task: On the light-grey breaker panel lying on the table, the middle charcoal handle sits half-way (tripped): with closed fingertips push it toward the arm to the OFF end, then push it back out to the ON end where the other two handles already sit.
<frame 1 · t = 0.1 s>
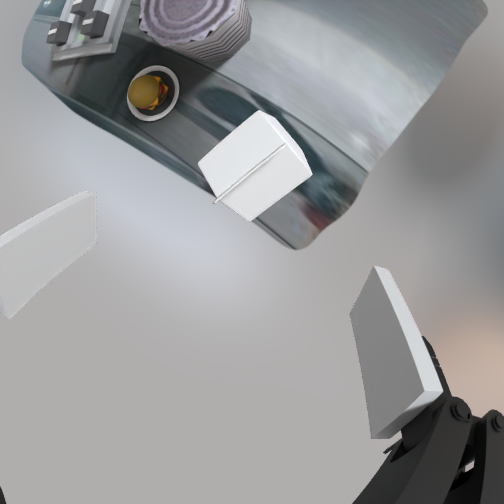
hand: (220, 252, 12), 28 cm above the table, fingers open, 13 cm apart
panel: (97, 8, 26), on the table
breaker mid: (84, 4, 22), point 4 cm above the table, slide at 0.0 cm
milk: (271, 146, 36), on the table
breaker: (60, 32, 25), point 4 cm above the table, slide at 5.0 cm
can: (213, 29, 28), on the table
hamburger: (155, 93, 34), on the table
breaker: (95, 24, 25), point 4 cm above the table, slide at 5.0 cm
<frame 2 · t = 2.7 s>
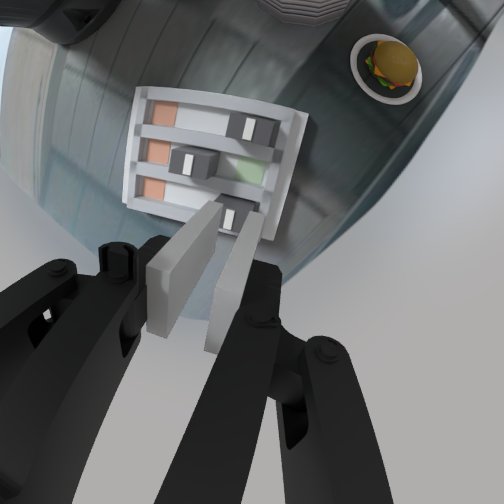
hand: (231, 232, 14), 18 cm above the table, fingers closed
panel: (205, 156, 30), on the table
breaker mid: (194, 161, 27), point 4 cm above the table, slide at 0.0 cm
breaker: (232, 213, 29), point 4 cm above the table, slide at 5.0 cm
hamburger: (384, 69, 23), on the table
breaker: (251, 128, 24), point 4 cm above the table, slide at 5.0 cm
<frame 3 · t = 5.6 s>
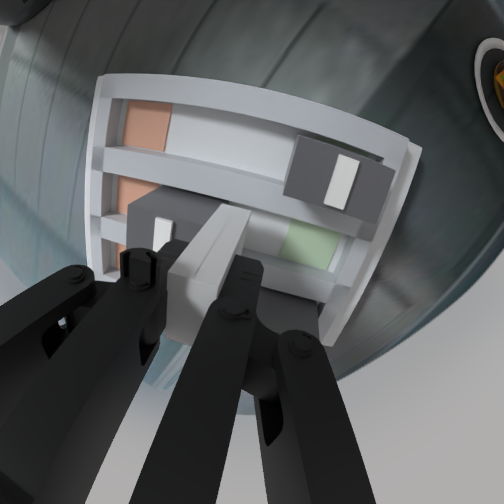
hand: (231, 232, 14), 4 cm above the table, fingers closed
panel: (224, 208, 17), on the table
breaker mid: (178, 224, 14), point 4 cm above the table, slide at -1.6 cm, touching gripper
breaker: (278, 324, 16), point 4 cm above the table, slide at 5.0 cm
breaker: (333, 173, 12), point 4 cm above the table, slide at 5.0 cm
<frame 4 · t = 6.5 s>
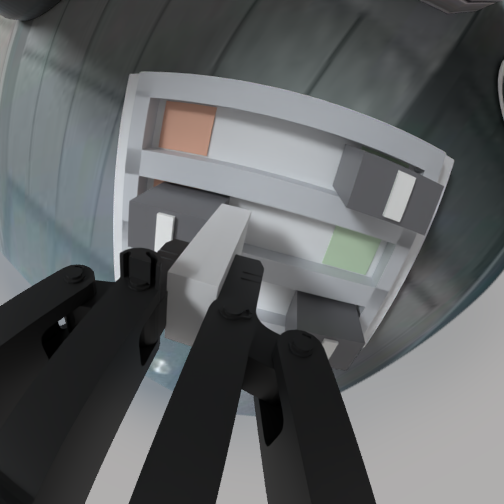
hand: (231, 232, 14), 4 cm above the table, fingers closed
panel: (266, 215, 17), on the table
breaker mid: (180, 220, 14), point 4 cm above the table, slide at -4.2 cm, touching gripper
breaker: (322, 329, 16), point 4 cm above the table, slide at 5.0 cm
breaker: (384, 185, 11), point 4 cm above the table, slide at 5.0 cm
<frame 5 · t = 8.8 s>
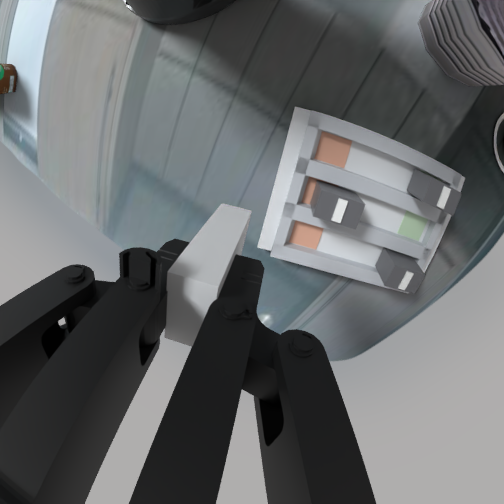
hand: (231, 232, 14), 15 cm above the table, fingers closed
panel: (366, 205, 27), on the table
breaker mid: (336, 203, 24), point 4 cm above the table, slide at -4.2 cm
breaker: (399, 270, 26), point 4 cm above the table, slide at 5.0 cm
can: (457, 43, 16), on the table
food container: (8, 74, 23), on the table
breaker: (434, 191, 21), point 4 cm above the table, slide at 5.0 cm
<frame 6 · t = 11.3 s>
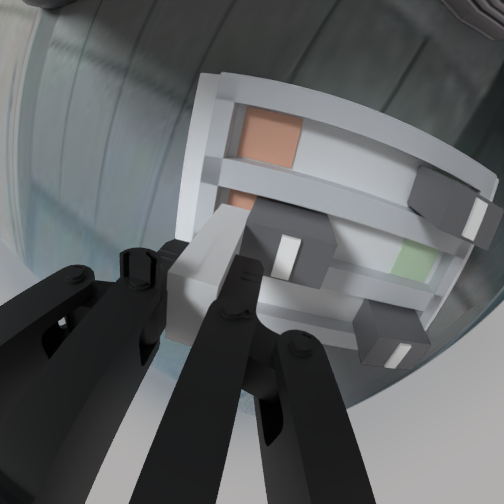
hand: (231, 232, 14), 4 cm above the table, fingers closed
panel: (338, 227, 17), on the table
breaker mid: (286, 239, 14), point 4 cm above the table, slide at -3.4 cm, touching gripper
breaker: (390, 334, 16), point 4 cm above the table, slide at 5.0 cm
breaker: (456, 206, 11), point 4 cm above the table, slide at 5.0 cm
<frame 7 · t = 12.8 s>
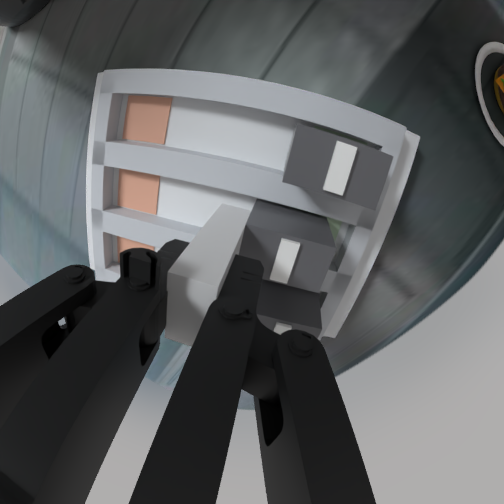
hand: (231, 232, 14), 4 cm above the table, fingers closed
panel: (225, 200, 17), on the table
breaker mid: (285, 242, 14), point 4 cm above the table, slide at 4.0 cm, touching gripper
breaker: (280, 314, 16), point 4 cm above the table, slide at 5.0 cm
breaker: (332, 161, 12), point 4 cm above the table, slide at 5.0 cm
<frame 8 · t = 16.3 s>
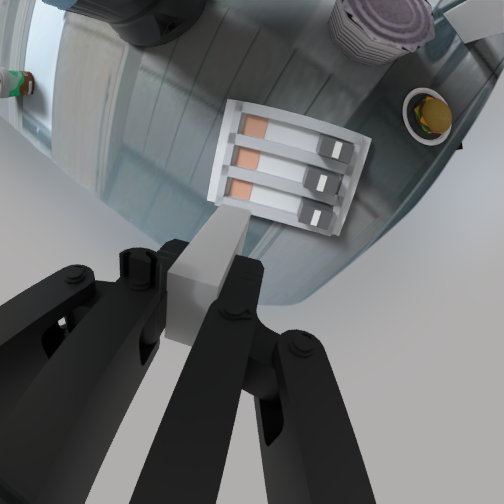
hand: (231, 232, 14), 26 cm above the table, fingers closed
panel: (287, 165, 37), on the table
breaker mid: (320, 179, 33), point 4 cm above the table, slide at 4.4 cm
milk: (462, 24, 20), on the table
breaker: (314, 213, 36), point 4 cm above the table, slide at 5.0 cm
can: (365, 33, 26), on the table
food container: (26, 79, 33), on the table
hamburger: (424, 116, 31), on the table
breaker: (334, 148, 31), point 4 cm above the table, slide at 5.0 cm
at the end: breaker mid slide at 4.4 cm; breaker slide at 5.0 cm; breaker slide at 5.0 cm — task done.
